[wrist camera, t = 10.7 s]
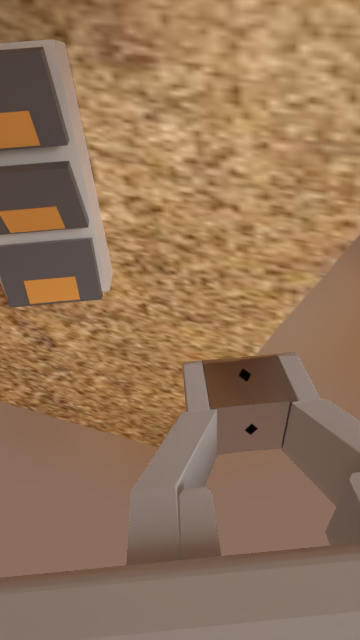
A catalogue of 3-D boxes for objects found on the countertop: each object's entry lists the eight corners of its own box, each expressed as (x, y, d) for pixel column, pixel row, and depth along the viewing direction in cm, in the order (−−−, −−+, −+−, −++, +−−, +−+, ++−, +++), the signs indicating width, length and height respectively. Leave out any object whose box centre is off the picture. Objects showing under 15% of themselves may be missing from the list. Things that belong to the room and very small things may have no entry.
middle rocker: (-48, 170, 27) (-52, 178, 26) (69, 160, 27) (67, 168, 26) (-9, 228, 32) (-12, 236, 31) (89, 220, 32) (88, 228, 31)
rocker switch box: (-73, 53, 27) (-103, 51, 24) (64, 42, 27) (53, 39, 24) (19, 281, 39) (7, 299, 36) (112, 273, 40) (109, 290, 36)
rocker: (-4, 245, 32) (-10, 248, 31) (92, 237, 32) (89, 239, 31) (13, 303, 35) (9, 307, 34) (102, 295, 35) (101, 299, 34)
